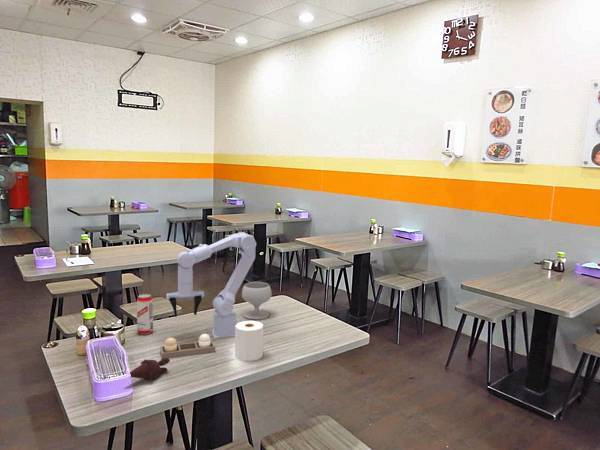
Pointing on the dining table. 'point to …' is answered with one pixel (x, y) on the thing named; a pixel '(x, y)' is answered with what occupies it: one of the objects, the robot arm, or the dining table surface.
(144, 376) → the brown plush toy
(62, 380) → the dining table surface
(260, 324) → the toilet paper
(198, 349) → the egg carton
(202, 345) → the cream egg
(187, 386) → the dining table surface
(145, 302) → the beer can
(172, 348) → the tan egg
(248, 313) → the chalice
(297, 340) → the dining table surface
